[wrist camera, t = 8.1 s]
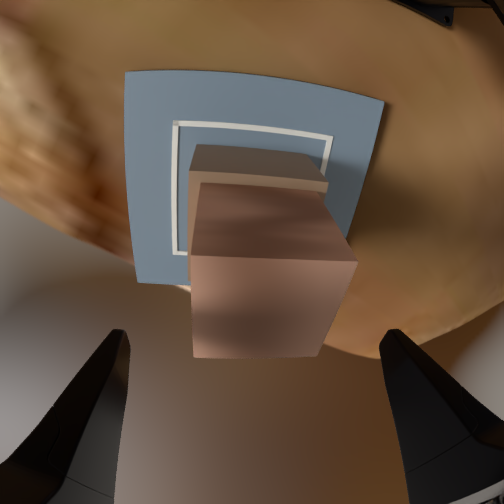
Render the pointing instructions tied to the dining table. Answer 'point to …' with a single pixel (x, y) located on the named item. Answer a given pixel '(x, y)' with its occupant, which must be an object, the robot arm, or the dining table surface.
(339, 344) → the dining table surface
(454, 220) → the dining table surface
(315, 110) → the blueprint board
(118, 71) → the dining table surface
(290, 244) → the terracotta block
